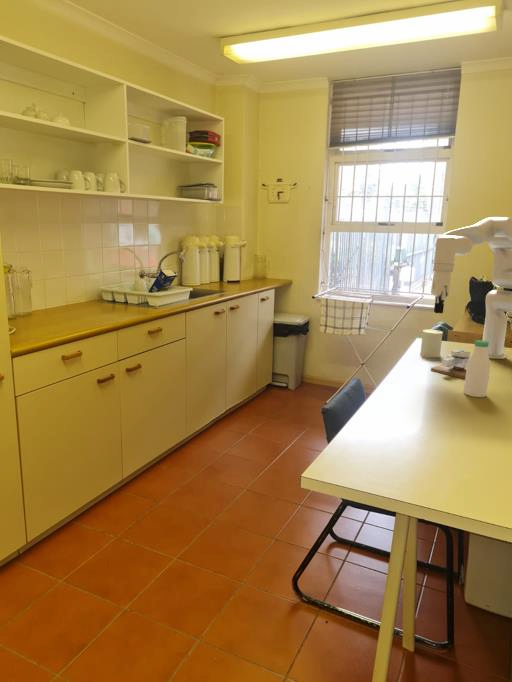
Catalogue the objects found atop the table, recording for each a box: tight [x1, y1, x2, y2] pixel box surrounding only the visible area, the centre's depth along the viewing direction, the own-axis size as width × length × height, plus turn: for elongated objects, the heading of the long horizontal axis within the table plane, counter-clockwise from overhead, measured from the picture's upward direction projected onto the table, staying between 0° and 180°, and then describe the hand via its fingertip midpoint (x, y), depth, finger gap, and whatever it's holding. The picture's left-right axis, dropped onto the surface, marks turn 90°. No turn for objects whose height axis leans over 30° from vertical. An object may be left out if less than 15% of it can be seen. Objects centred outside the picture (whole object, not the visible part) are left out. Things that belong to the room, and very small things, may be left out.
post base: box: [430, 356, 467, 380], centre depth 213 cm, size 16×16×7 cm
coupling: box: [441, 349, 471, 368], centre depth 211 cm, size 7×14×6 cm, turn 127°
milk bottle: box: [463, 339, 491, 398], centre depth 183 cm, size 8×8×20 cm
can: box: [419, 329, 444, 358], centre depth 240 cm, size 9×9×12 cm
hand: (438, 312), depth 208 cm, fingers closed
